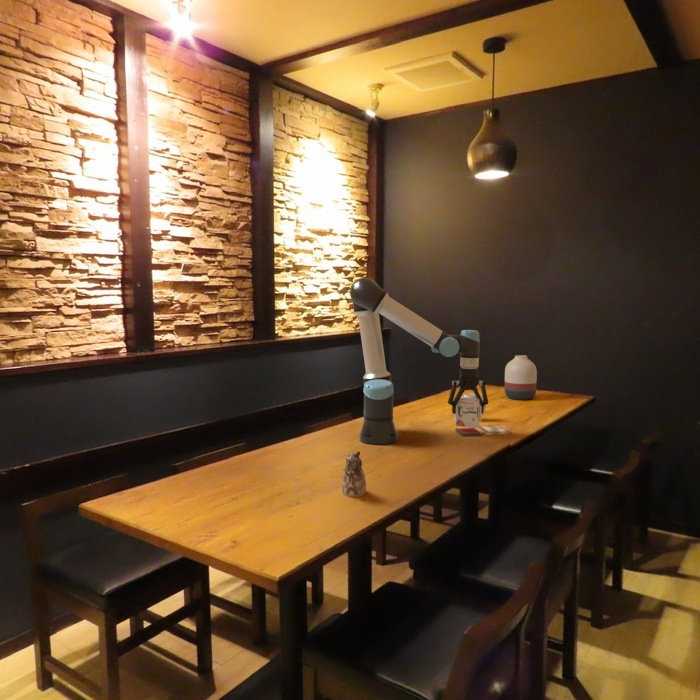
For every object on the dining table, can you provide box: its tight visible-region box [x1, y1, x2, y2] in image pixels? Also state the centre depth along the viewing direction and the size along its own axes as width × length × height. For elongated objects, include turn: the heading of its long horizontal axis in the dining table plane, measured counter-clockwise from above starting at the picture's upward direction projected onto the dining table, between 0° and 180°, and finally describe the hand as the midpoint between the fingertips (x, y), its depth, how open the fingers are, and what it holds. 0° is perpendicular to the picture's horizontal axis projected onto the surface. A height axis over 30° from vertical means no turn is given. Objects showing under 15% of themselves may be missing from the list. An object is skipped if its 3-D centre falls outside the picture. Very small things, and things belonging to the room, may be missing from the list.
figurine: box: [341, 450, 367, 498], centre depth 174 cm, size 7×7×12 cm
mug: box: [463, 392, 487, 416], centre depth 273 cm, size 10×7×12 cm, turn 76°
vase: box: [504, 354, 538, 401], centre depth 329 cm, size 17×17×24 cm
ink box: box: [455, 396, 480, 429], centre depth 247 cm, size 9×5×12 cm, turn 62°
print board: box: [475, 424, 513, 436], centre depth 253 cm, size 11×13×1 cm
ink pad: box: [454, 427, 483, 437], centre depth 248 cm, size 8×10×1 cm
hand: (467, 421), depth 248 cm, fingers closed on ink box, 9 cm apart
